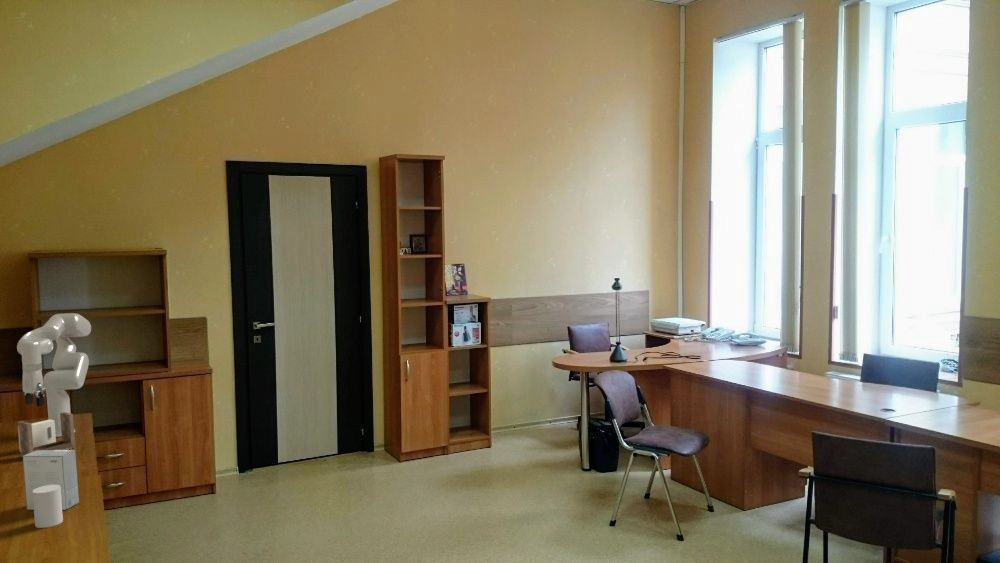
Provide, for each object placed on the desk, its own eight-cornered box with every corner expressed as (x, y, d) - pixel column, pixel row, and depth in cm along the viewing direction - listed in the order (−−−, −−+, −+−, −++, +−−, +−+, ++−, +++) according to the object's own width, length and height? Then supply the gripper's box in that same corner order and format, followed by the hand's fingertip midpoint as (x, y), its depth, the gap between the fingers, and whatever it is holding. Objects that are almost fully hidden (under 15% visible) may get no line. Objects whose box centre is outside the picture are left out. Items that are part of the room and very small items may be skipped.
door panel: (19, 452, 339) (18, 426, 338) (51, 444, 351) (50, 419, 350) (24, 453, 336) (22, 427, 335) (56, 445, 348) (55, 420, 347)
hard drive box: (80, 502, 272) (76, 449, 271) (65, 510, 265) (62, 456, 263) (40, 502, 274) (36, 449, 272) (25, 510, 266) (21, 455, 265)
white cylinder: (42, 519, 257) (40, 485, 257) (67, 517, 258) (65, 484, 257) (30, 528, 249) (27, 493, 248) (55, 527, 250) (52, 492, 249)
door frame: (21, 457, 331) (18, 422, 330) (65, 445, 347) (63, 412, 346) (30, 460, 326) (27, 424, 325) (75, 448, 343) (73, 414, 342)
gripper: (14, 367, 342) (16, 404, 343) (33, 370, 333) (36, 408, 334) (31, 365, 348) (33, 401, 349) (50, 367, 339) (53, 404, 340)
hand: (34, 404), depth 342 cm, fingers open, 9 cm apart
